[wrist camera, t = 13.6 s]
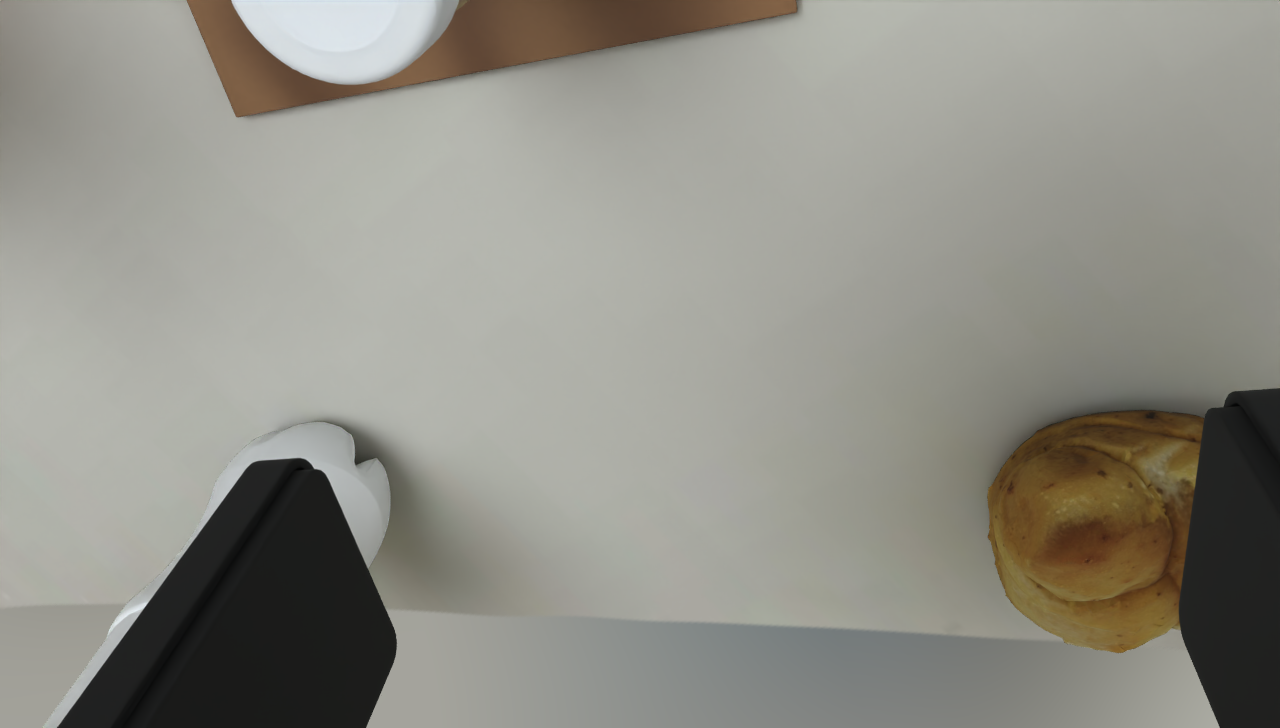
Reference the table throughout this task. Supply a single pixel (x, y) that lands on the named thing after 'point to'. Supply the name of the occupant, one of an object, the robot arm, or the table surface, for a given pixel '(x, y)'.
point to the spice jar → (347, 34)
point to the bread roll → (1098, 525)
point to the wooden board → (466, 42)
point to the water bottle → (316, 442)
